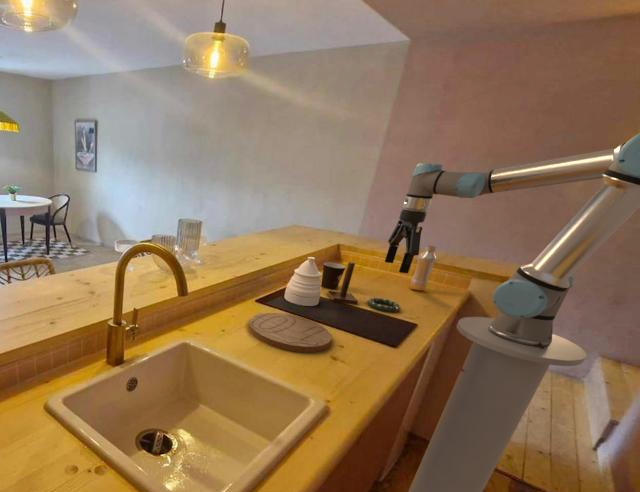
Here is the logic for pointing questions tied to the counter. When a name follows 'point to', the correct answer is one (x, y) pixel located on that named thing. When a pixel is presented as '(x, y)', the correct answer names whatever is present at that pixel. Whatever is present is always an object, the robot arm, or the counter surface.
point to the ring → (373, 301)
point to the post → (344, 288)
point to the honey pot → (304, 285)
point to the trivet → (289, 332)
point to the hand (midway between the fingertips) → (395, 267)
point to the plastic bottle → (423, 269)
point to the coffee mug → (332, 275)
